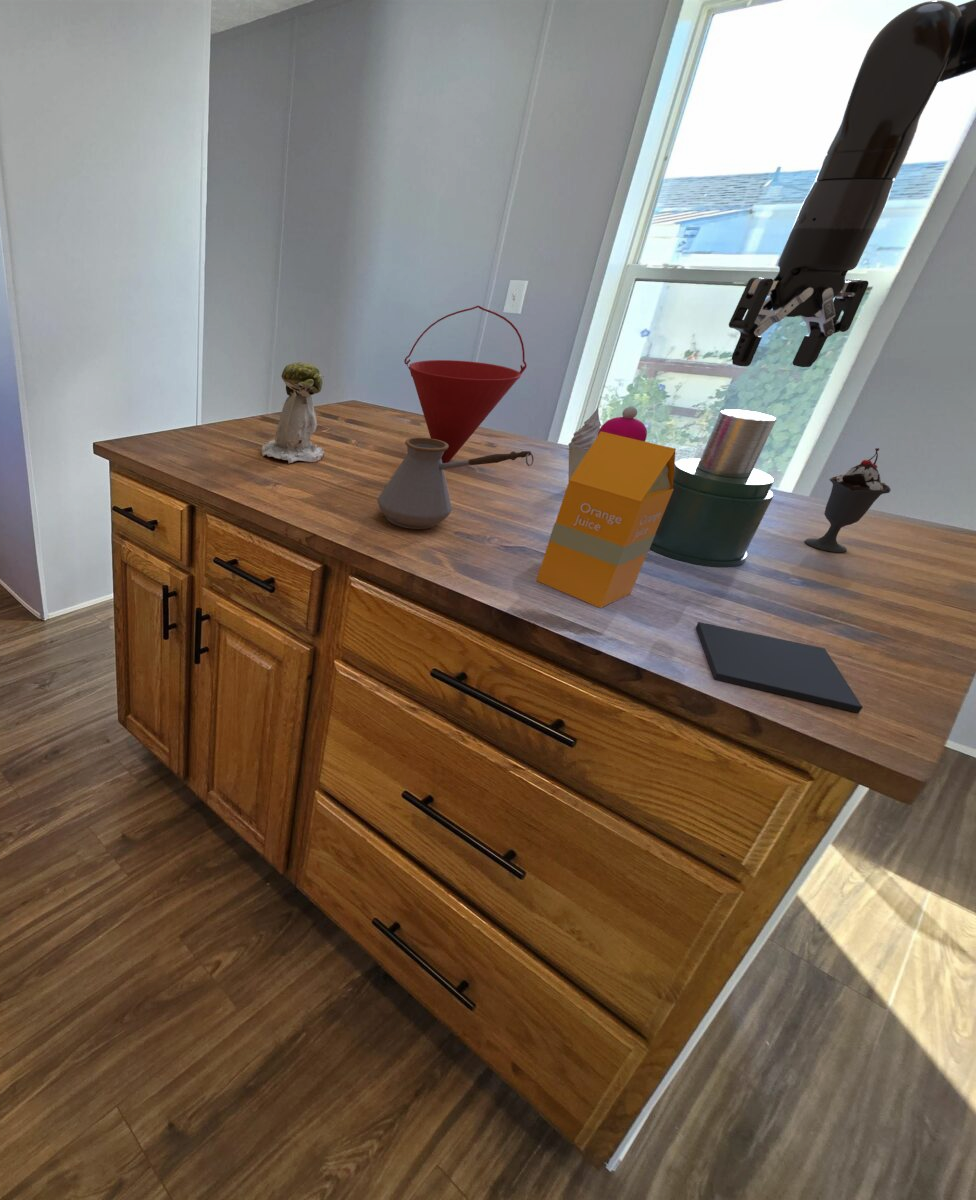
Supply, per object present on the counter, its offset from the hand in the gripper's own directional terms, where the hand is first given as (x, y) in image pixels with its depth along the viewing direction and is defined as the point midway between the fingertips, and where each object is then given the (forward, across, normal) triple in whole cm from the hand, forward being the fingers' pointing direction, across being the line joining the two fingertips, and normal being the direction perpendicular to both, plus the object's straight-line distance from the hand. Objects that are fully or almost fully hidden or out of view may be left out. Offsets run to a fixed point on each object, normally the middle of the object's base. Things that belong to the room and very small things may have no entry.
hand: (770, 365), depth 87 cm
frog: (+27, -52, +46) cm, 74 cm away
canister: (+26, 0, 0) cm, 26 cm away
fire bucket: (+27, -23, +38) cm, 52 cm away
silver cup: (+14, 0, 0) cm, 14 cm away
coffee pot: (+27, -36, +7) cm, 46 cm away
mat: (+26, -14, -31) cm, 43 cm away
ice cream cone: (+27, -4, +25) cm, 37 cm away
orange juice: (+27, -24, -12) cm, 38 cm away
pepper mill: (+27, -14, +4) cm, 30 cm away
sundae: (+27, +22, 0) cm, 35 cm away
